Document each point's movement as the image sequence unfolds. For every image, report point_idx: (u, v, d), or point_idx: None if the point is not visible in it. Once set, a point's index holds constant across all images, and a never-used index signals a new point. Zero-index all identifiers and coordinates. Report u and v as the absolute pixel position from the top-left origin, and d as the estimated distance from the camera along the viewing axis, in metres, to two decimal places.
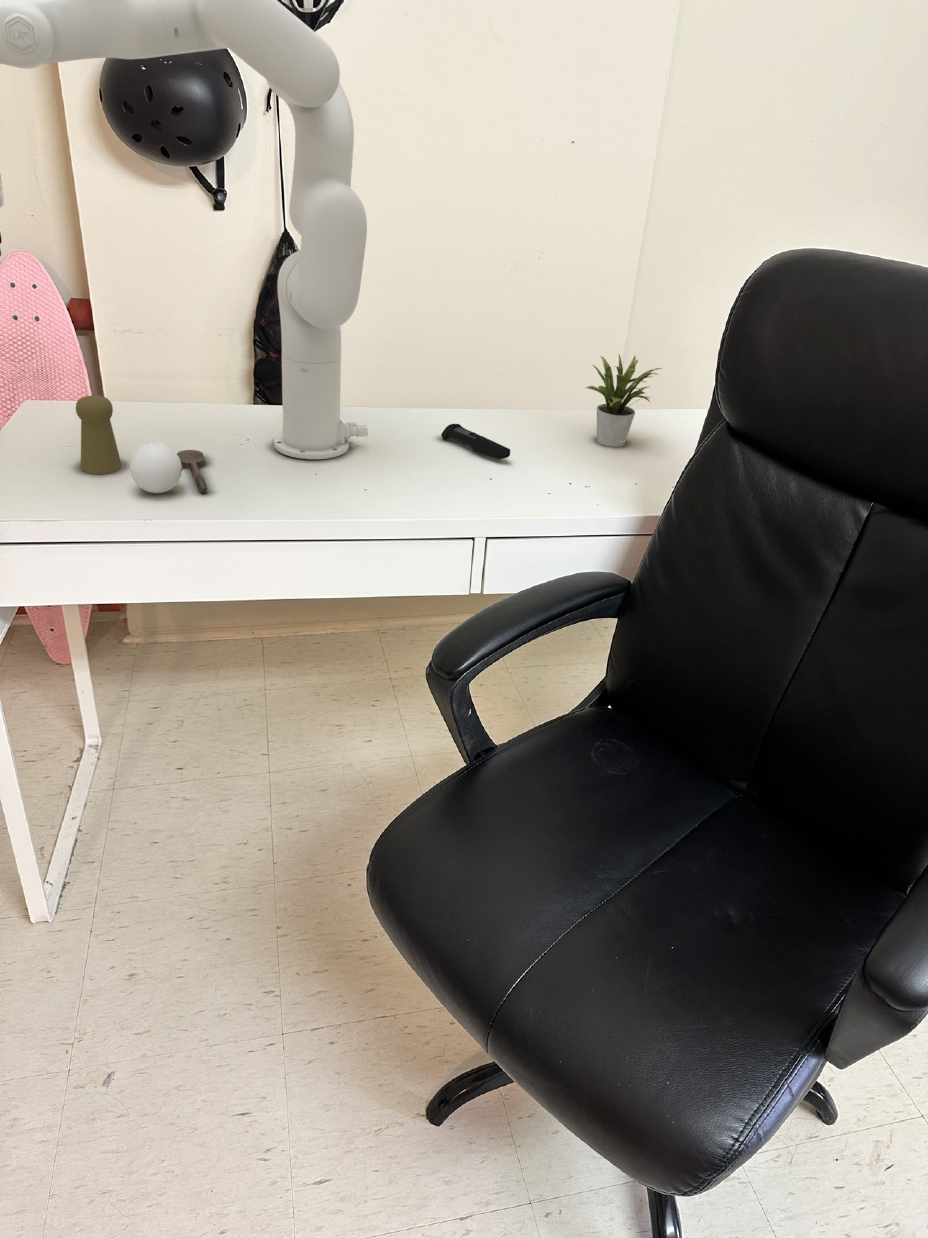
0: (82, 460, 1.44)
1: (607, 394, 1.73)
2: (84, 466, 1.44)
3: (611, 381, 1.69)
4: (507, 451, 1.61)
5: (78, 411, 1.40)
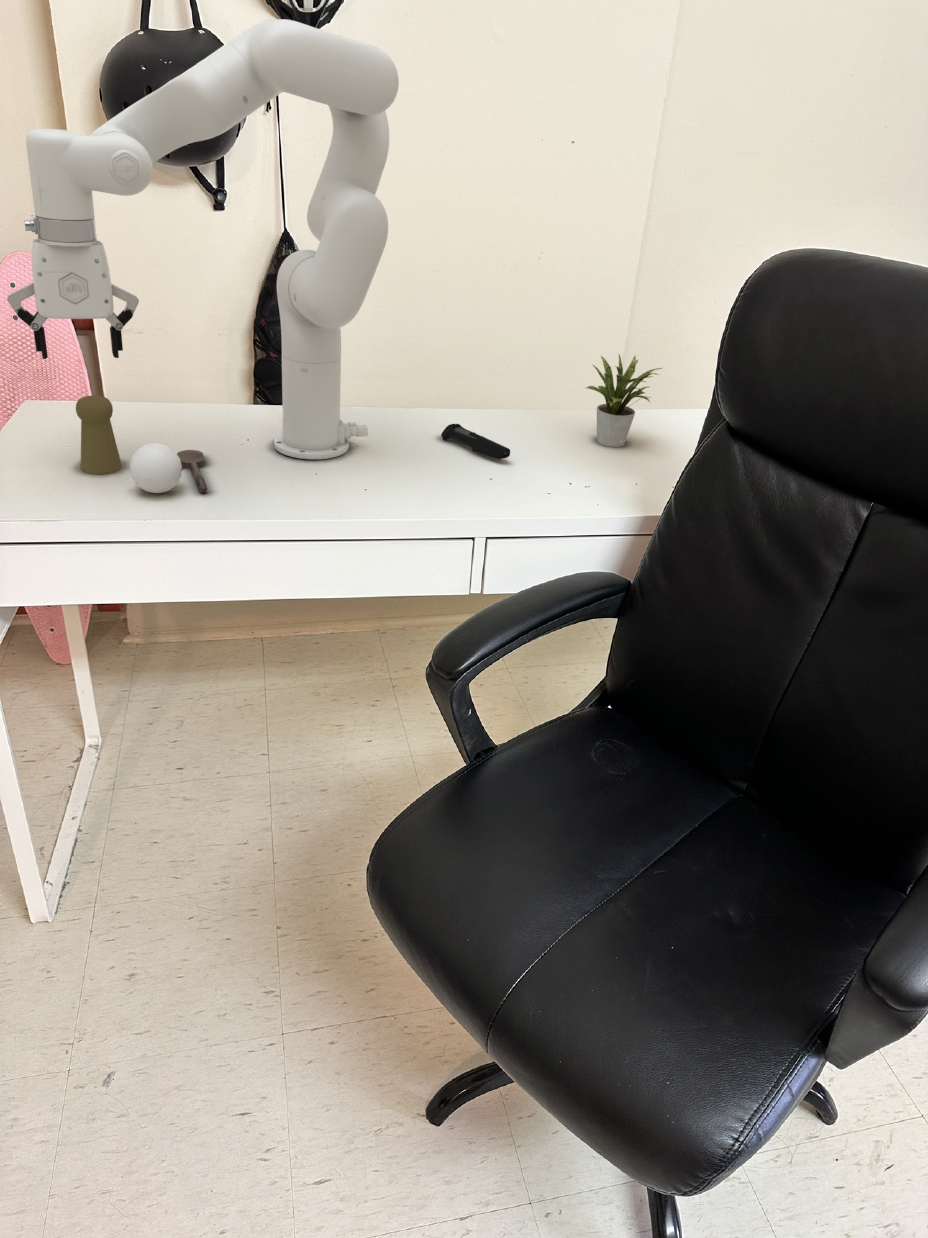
0: (82, 460, 1.44)
1: (607, 394, 1.73)
2: (84, 466, 1.44)
3: (611, 381, 1.69)
4: (507, 451, 1.61)
5: (78, 411, 1.40)
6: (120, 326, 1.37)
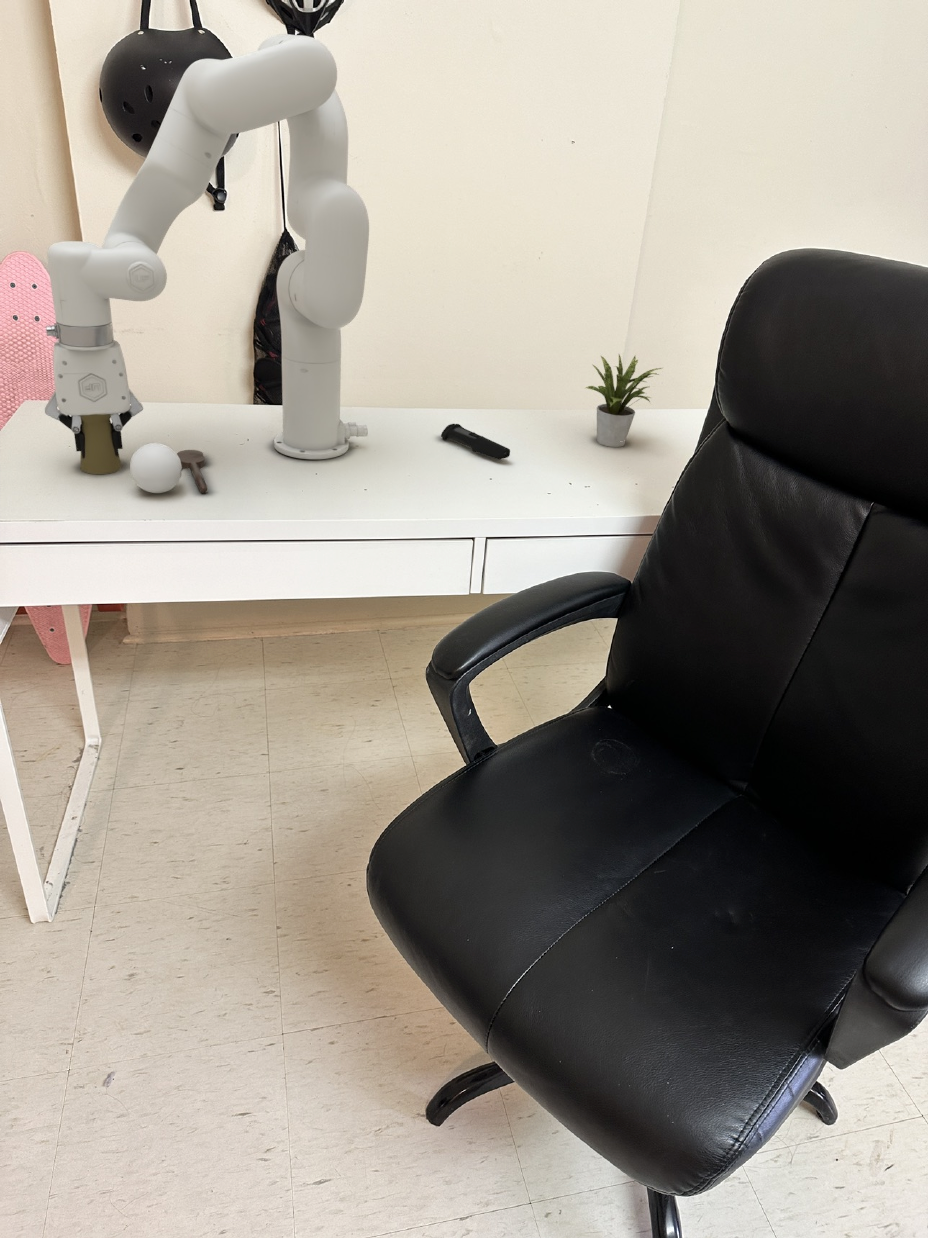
0: (82, 460, 1.44)
1: (607, 394, 1.73)
2: (84, 466, 1.44)
3: (611, 381, 1.69)
4: (507, 451, 1.61)
5: None
6: (120, 427, 1.44)
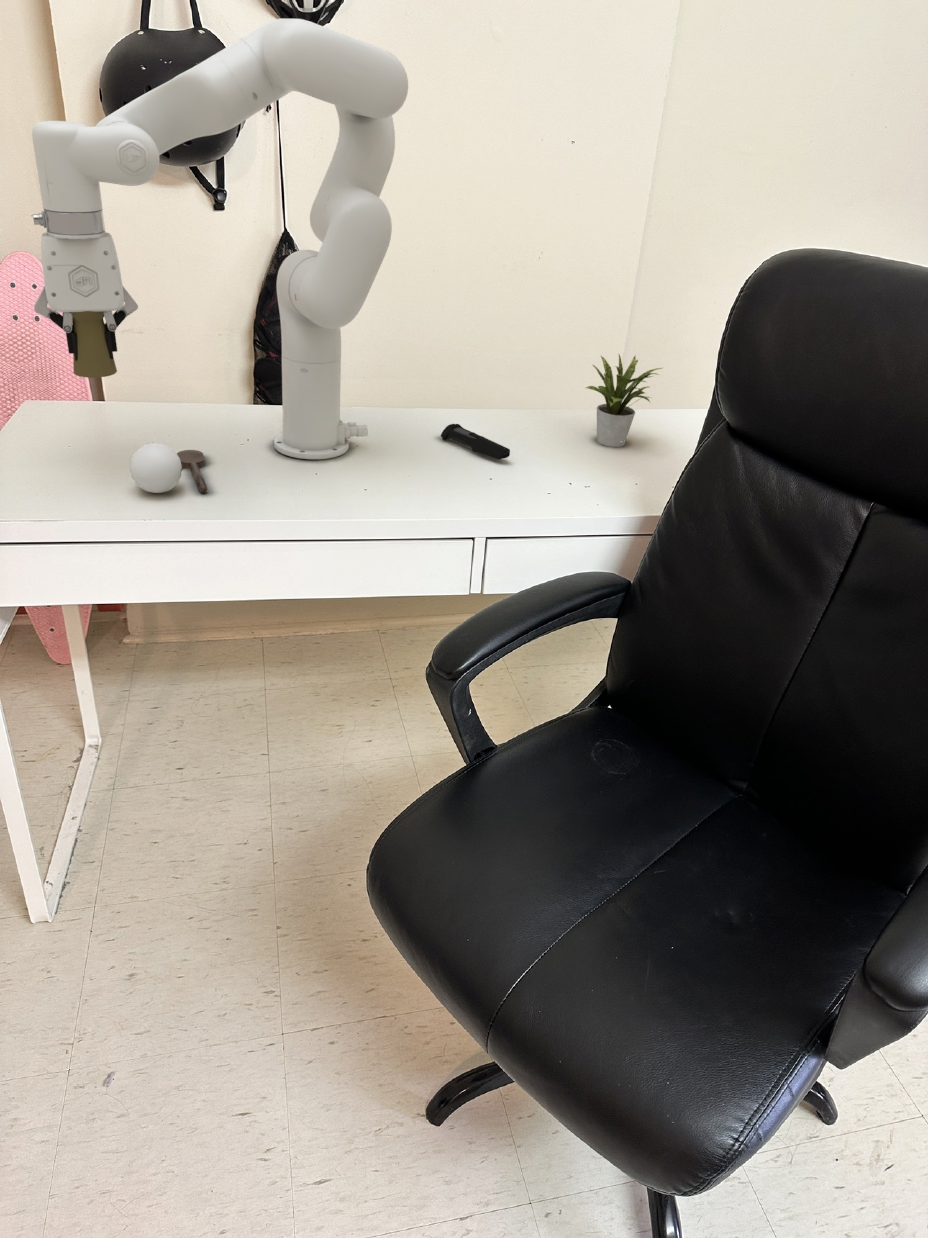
0: (75, 363, 1.37)
1: (607, 394, 1.73)
2: (77, 369, 1.37)
3: (611, 381, 1.69)
4: (507, 451, 1.61)
5: None
6: (114, 327, 1.36)
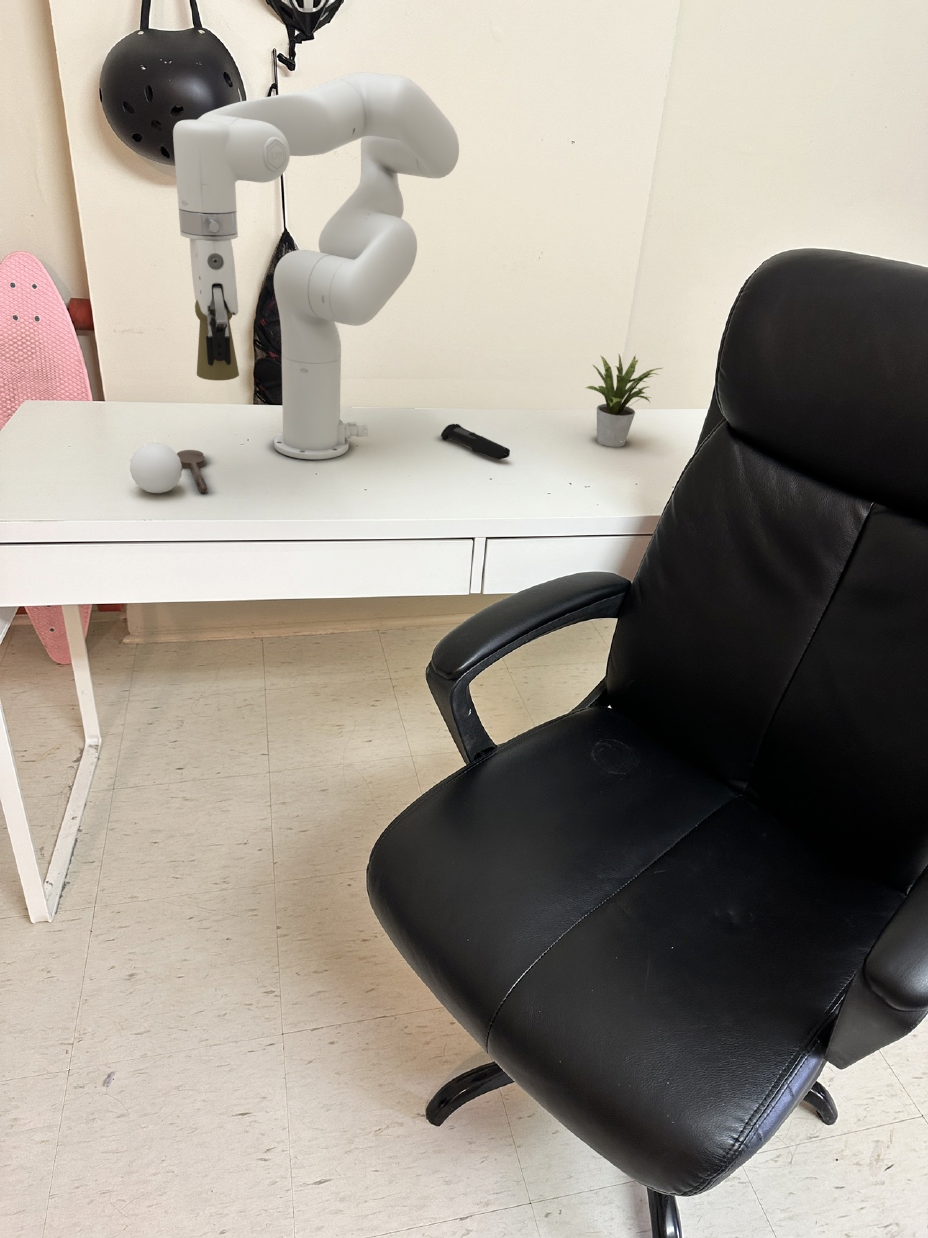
0: (227, 368, 1.35)
1: (607, 394, 1.73)
2: (231, 372, 1.36)
3: (611, 381, 1.69)
4: (507, 451, 1.61)
5: None
6: None
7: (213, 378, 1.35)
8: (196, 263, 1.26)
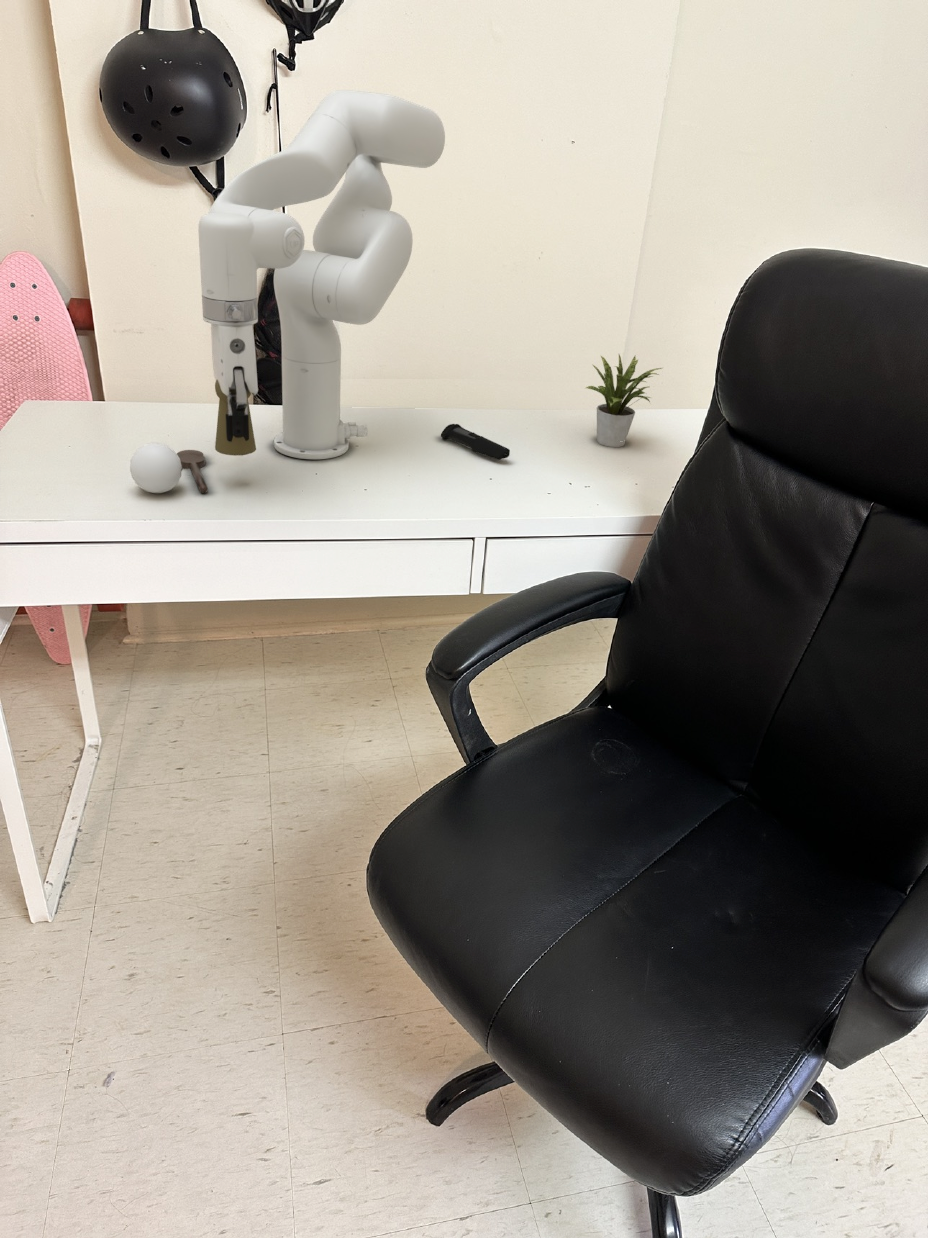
0: (245, 443, 1.40)
1: (607, 394, 1.73)
2: (248, 448, 1.41)
3: (611, 381, 1.69)
4: (506, 451, 1.61)
5: None
6: None
7: (232, 453, 1.40)
8: (218, 347, 1.31)
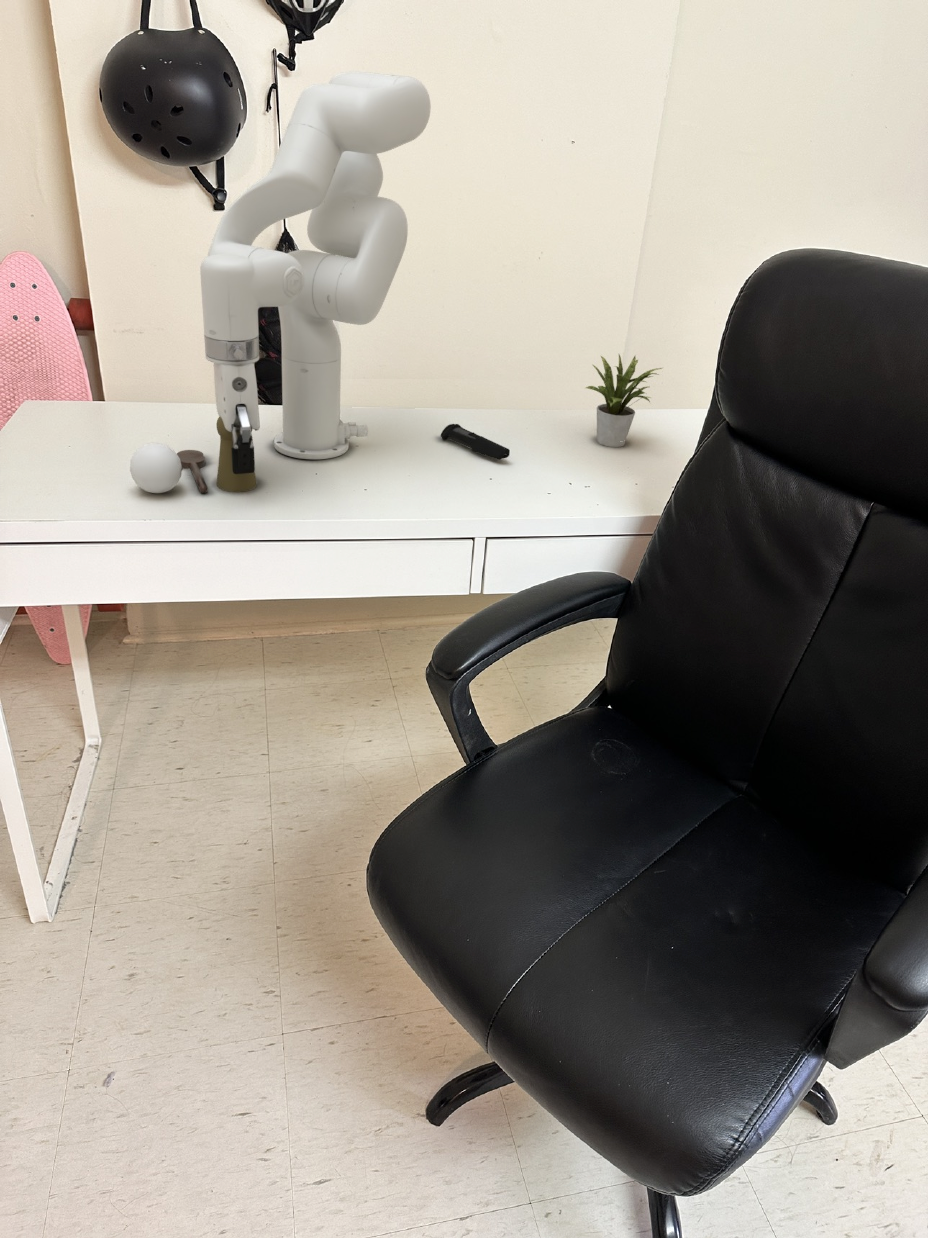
0: (246, 480, 1.43)
1: (607, 394, 1.73)
2: (249, 484, 1.43)
3: (611, 381, 1.69)
4: (506, 451, 1.61)
5: None
6: None
7: (233, 490, 1.43)
8: (221, 385, 1.34)
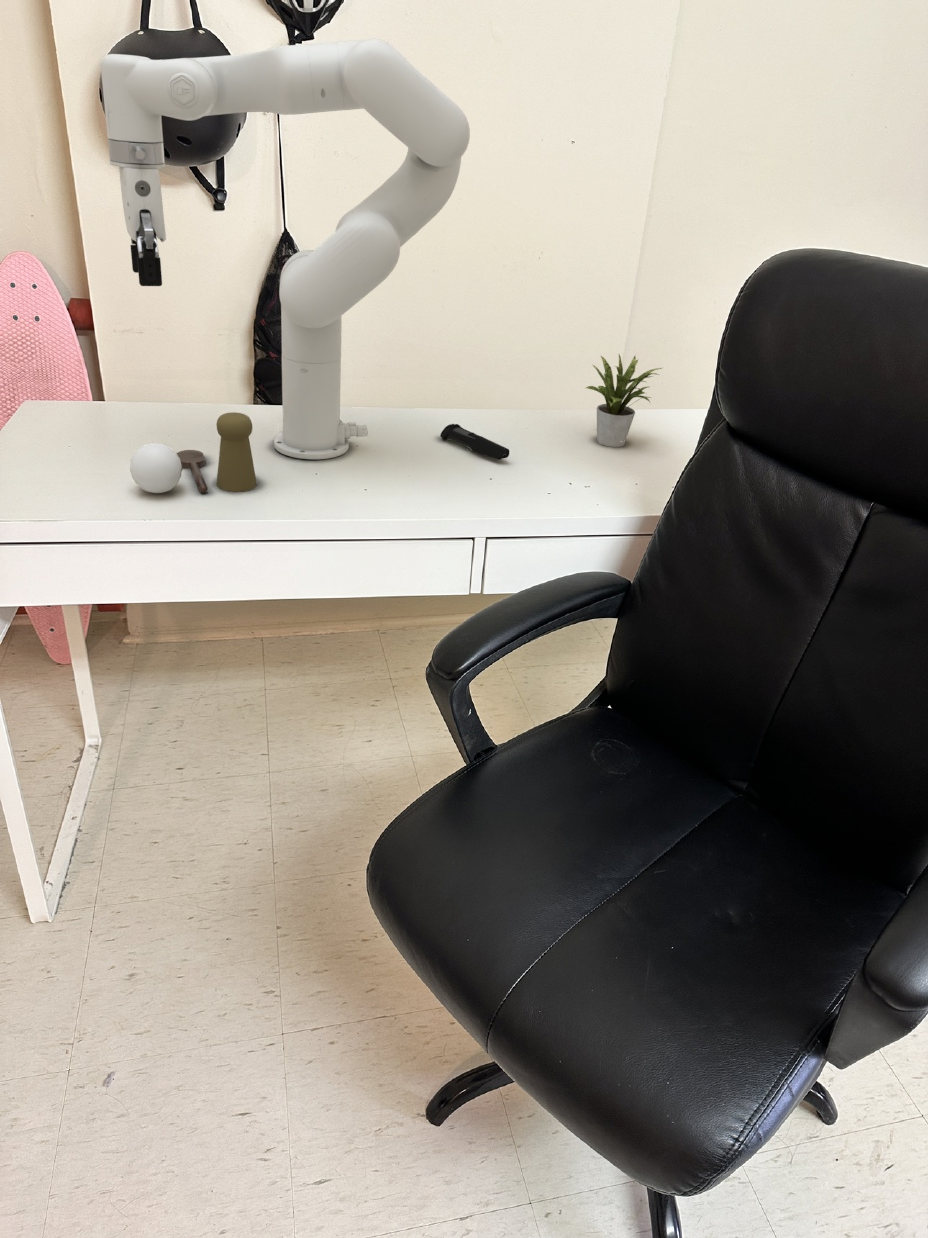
0: (246, 480, 1.43)
1: (607, 394, 1.73)
2: (249, 484, 1.43)
3: (611, 381, 1.69)
4: (506, 451, 1.61)
5: (245, 430, 1.39)
6: None
7: (233, 490, 1.43)
8: (125, 190, 1.35)
